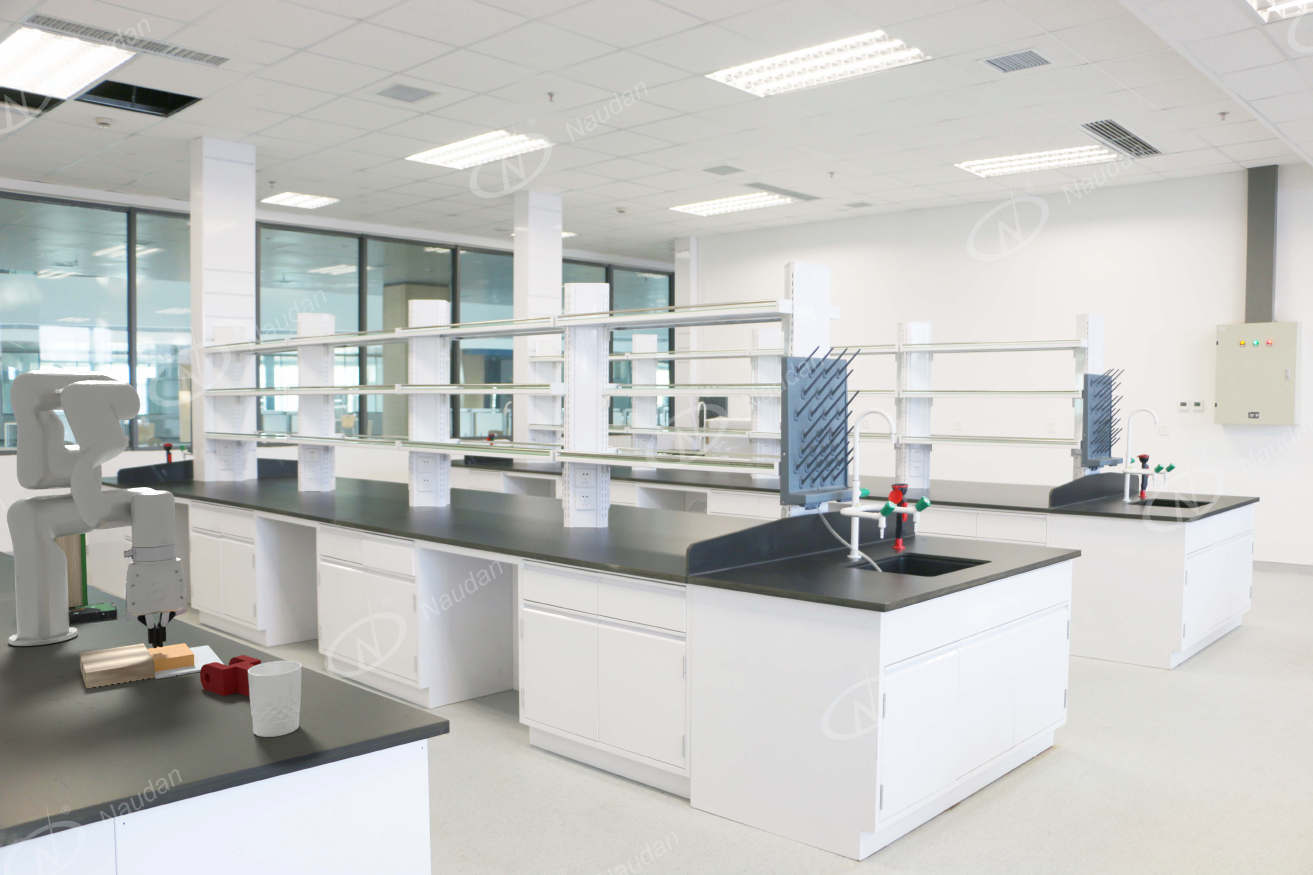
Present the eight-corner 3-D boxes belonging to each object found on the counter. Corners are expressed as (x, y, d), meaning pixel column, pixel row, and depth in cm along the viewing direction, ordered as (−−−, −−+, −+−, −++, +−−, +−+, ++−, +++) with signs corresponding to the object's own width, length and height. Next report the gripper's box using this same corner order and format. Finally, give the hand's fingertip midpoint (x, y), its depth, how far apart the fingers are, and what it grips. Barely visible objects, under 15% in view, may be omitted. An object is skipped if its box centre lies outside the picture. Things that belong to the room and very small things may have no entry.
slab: (146, 659, 180) (146, 648, 180) (185, 653, 184) (184, 643, 184) (154, 671, 172) (153, 660, 172) (194, 665, 176) (194, 654, 176)
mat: (143, 656, 184) (143, 654, 184) (208, 646, 191) (208, 645, 191) (155, 678, 169) (155, 676, 169) (225, 667, 176) (225, 665, 176)
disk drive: (44, 630, 208) (118, 619, 217) (43, 618, 208) (118, 608, 216) (42, 621, 216) (114, 611, 225) (41, 609, 216) (113, 600, 225)
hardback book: (88, 609, 225) (84, 514, 224) (52, 614, 220) (49, 517, 219) (72, 598, 238) (69, 508, 237) (38, 603, 233) (35, 511, 232)
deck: (80, 667, 176) (79, 652, 176) (144, 657, 183) (143, 643, 183) (86, 688, 163) (85, 672, 163) (154, 677, 170) (154, 661, 170)
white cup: (313, 723, 145) (312, 662, 145) (278, 741, 138) (277, 677, 138) (274, 718, 148) (273, 658, 148) (237, 735, 141) (236, 672, 140)
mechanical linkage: (200, 689, 164) (199, 662, 164) (237, 679, 170) (237, 652, 169) (248, 706, 155) (247, 677, 154) (286, 694, 160) (285, 667, 160)
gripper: (112, 560, 169) (115, 657, 170) (200, 552, 178) (202, 644, 178) (108, 555, 175) (111, 648, 176) (193, 547, 184) (196, 636, 184)
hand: (157, 645), depth 177 cm, fingers closed
